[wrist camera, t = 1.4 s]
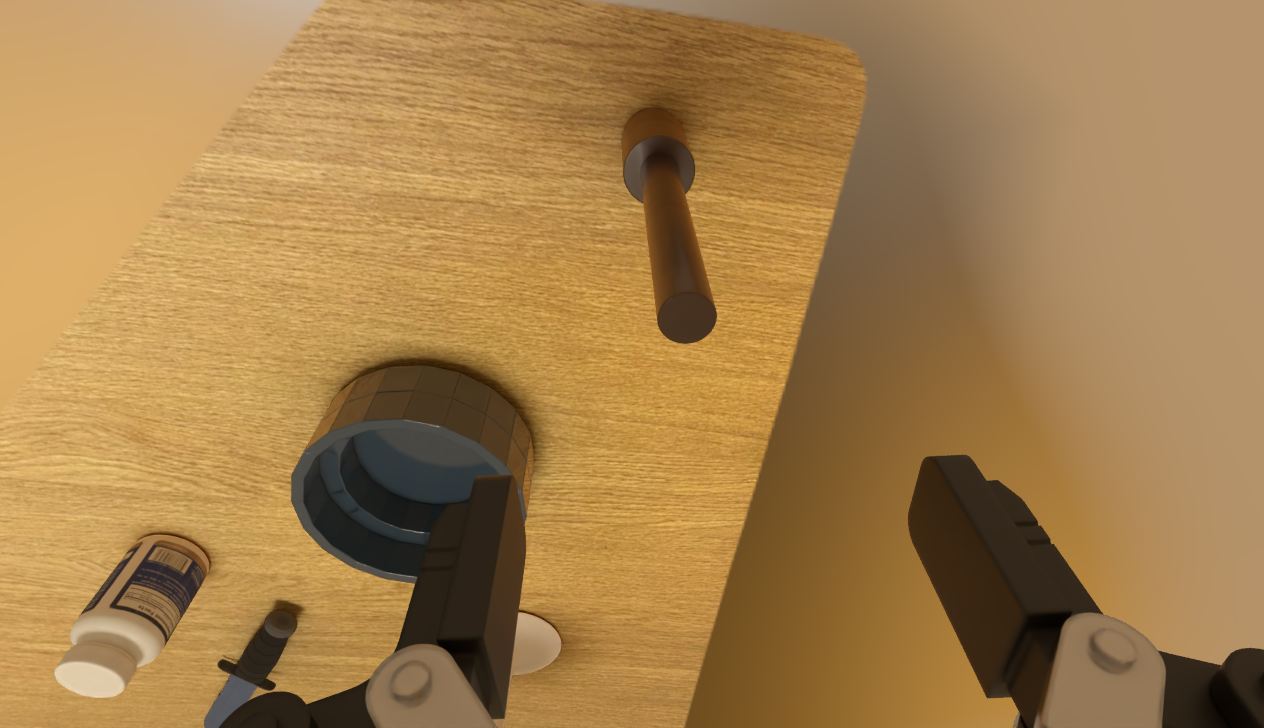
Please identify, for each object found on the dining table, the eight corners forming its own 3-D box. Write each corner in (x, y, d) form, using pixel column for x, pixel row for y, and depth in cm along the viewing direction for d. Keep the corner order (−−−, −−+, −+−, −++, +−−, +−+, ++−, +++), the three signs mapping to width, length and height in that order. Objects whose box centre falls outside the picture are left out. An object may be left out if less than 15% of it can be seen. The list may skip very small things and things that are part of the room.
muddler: (620, 109, 33) (628, 270, 18) (684, 106, 33) (746, 264, 18) (623, 173, 35) (633, 368, 20) (684, 170, 35) (740, 363, 20)
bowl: (299, 363, 41) (256, 426, 36) (520, 352, 41) (508, 413, 36) (358, 518, 48) (329, 588, 43) (545, 509, 48) (537, 578, 44)
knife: (240, 618, 51) (302, 647, 52) (259, 592, 53) (318, 621, 54) (173, 741, 63) (224, 763, 64) (190, 717, 65) (239, 738, 66)
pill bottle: (157, 583, 52) (73, 708, 44) (118, 535, 49) (21, 660, 41) (225, 576, 51) (153, 700, 43) (190, 527, 49) (106, 651, 40)
